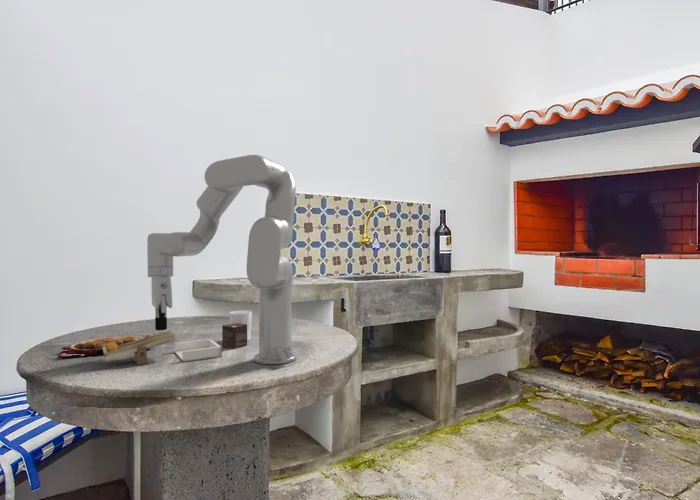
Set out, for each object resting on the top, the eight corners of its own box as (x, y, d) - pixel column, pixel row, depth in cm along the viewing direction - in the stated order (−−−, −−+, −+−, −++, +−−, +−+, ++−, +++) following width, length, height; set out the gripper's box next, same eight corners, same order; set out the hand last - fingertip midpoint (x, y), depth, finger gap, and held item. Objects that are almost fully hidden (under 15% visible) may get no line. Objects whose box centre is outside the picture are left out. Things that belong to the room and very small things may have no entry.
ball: (119, 351, 132) (116, 341, 131) (107, 355, 130) (105, 344, 130) (118, 349, 134) (116, 339, 134) (106, 352, 133) (104, 343, 132)
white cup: (249, 341, 162) (248, 313, 162) (227, 342, 162) (226, 313, 162) (254, 337, 170) (254, 310, 170) (233, 337, 170) (232, 310, 170)
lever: (175, 340, 138) (172, 329, 138) (105, 361, 129) (102, 348, 128) (168, 333, 149) (165, 322, 149) (103, 351, 139) (100, 340, 139)
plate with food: (153, 352, 150) (153, 341, 150) (58, 360, 138) (58, 348, 139) (149, 339, 172) (149, 330, 172) (66, 345, 161) (66, 335, 161)
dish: (222, 356, 141) (221, 346, 141) (183, 361, 135) (183, 351, 135) (210, 347, 153) (210, 338, 153) (174, 352, 147) (174, 342, 147)
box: (235, 343, 160) (234, 322, 160) (247, 345, 157) (247, 324, 157) (221, 347, 155) (221, 325, 154) (234, 349, 152) (234, 327, 151)
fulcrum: (146, 364, 133) (146, 346, 133) (137, 365, 132) (137, 347, 132) (143, 358, 140) (142, 341, 140) (134, 359, 139) (134, 342, 139)
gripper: (177, 273, 141) (178, 332, 141) (168, 270, 153) (169, 324, 154) (151, 273, 137) (151, 335, 137) (144, 271, 149) (145, 327, 150)
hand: (161, 329), depth 145 cm, fingers closed
